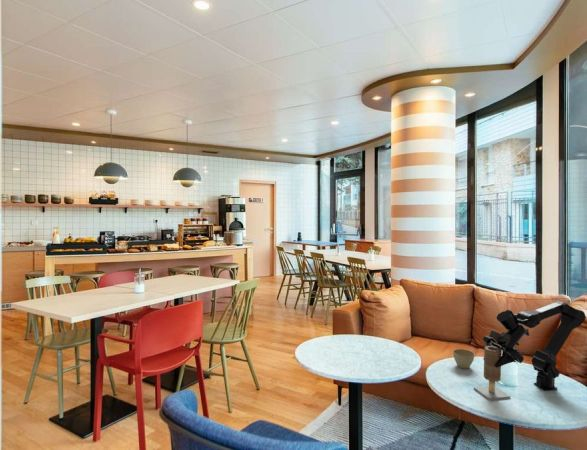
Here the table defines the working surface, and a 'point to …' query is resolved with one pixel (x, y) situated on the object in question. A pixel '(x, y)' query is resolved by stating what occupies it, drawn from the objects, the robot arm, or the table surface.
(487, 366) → the brown faceted vase
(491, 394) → the post stand
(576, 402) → the table surface
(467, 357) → the flower pot
